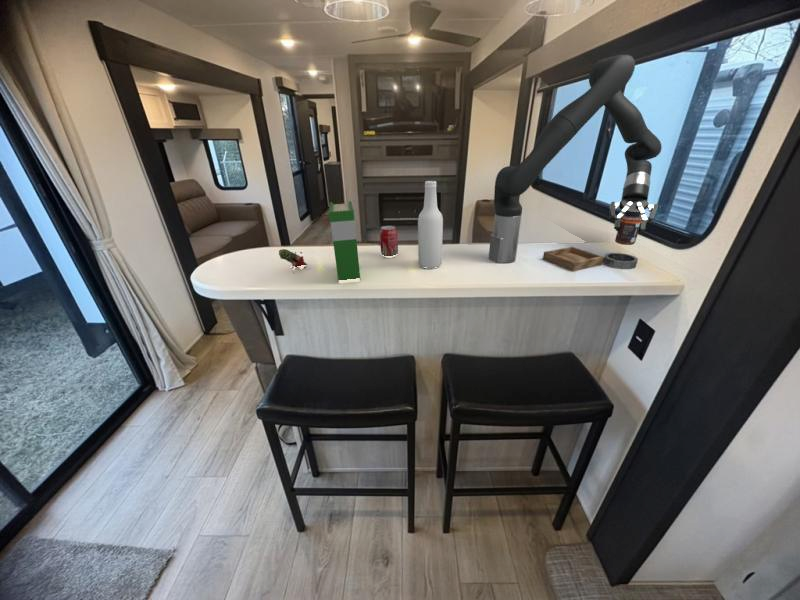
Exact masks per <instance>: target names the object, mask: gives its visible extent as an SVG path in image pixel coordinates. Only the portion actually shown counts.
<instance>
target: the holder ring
mask: <svg viewBox="0 0 800 600" xmlns="http://www.w3.org/2000/svg"><path fill="white" fill-rule="evenodd" d="M603 257H604V260H603V263H602V264H604V265H605V266H607V267H610V268H614V269H620V270H632V269H633V270H634V269H636V267H637V264H638V261H639V258H638V257H636V256H634V255H632V254H628V253H623V252H622V253H621V252H609V253H605V254H604V256H603Z"/></svg>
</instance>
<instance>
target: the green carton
mask: <svg viewBox="0 0 800 600" xmlns="http://www.w3.org/2000/svg"><path fill="white" fill-rule="evenodd" d="M328 214H329V222H330V227H331V229H330V230H331V237H332V243H333V252H334V258H335V266H336V274H337V281H338V280H347V279H356V278H360V279H361V271H360V262H359V261H360V260H359V252H358V241H357V240H358V239H357V232H356V231H357V230H356V222H355V220H356V219H355V210H354V206H353V203H352V200H349V201H348V203H336V204H335V203H334V202H331V201H330V202H329V211H328Z"/></svg>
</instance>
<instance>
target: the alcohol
mask: <svg viewBox="0 0 800 600" xmlns="http://www.w3.org/2000/svg"><path fill="white" fill-rule="evenodd" d="M437 183H438V182H437V181H436V180H426V181H425V182H424V198H423V199H424V200H423V208H422V210H421V212H419V215H418V219H417V230H418V231H417V248H418V249H417V253H418V255H417V257H418V259H417V260H418V265H419V267H420V266H422V267H427V268H435V267H438V268H440V267H441V266H442V264H443V231H444V230H443V229H444V223H443V222H444V218H443V213H442V212H441V211H440V210H439V208H438V199H437V197H438V195H437ZM440 265H441V266H440ZM439 266H440V267H439ZM422 267H421V268H422Z"/></svg>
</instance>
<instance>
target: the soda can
mask: <svg viewBox="0 0 800 600" xmlns="http://www.w3.org/2000/svg"><path fill="white" fill-rule="evenodd" d="M379 240H380V241H379V245H380V253H381V254H382V255H384V256H393V255H396V254H398V255H399V241H398V240H399V239H398V231H397V229H396V226H395V225H384V226H383V225H382V226H381V228H380V231H379ZM381 254H380V255H381ZM382 255H381V256H382Z"/></svg>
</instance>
